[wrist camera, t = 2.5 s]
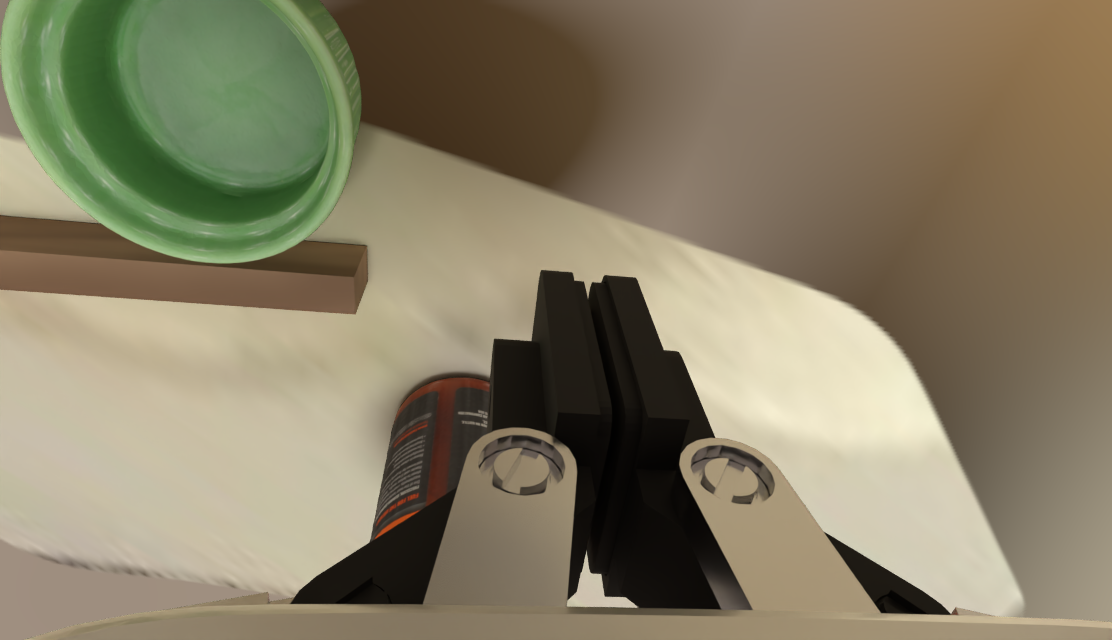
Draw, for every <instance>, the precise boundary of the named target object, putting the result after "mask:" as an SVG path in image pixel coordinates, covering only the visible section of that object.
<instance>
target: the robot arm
mask: <svg viewBox="0 0 1112 640" xmlns="http://www.w3.org/2000/svg"><path fill="white" fill-rule="evenodd" d="M586 550H587V556H588V563H589V569H590V572H591V573H593V574H601V575H602V581H603V588H604V595H605V597H626V598H628V599H629V600H630V601H631V602H633V603H634V604H635V605H636V606H637V608H616V607H567V600H568V599H570V598H571V597H572V596H573V595H574V594H575V593H576V592H577V588H578V583H579V578H580V573H581V572H582V569H583V564H584V559H585V554H586ZM25 640H1112V622H1105V621H1092V620H1076V619H1048V618H1020V617H998V616H992V615H988V614H983V613H979V612H974V611H970V610H965V609H961V608H956V607H955V609H954V610H953V612H952V614H950V613H949V612H948V611H947V610H946V609H945V608H944V607H943V606H942V605H941V604H940V603H939V602H937V601H936V600H934V599H933V598H932V597H930V596H929V595H928V594H926V593H925V592H923V591H922V590H920V589H918V588H917V587H915V586H913V585H912V584H910V583H908V582H907V581H905V580H903V579H902V578H900V577H898V576H897V575H895V574H893V573H892V572H890V571H888V570H887V569H885V568H883V567H882V566H880V565H878V564H877V563H875V562H873V561H872V560H870V559H868V558H867V557H865V556H863V555H862V554H860V553H858V552H857V551H855V550H853V549H852V548H850V547H848V546H847V545H845V544H843V543H842V542H840V541H838V540H837V539H835V538H833V537H832V536H830V535H828V534H827V533H825V532H823V530H822V529H821V528H820V526H819V525H818V523H817V522H816V520H815V519H814V518H813V516H812V515H811V513H810V512H809V511H808V509H807V508H806V506H805V505H804V503H803V502H802V501H801V499H800V498H799V496H798V495H797V494H796V492H795V491H794V489H793V488H792V487H791V485H790V484H789V482H788V481H787V479H786V478H785V477H784V475H783V474H782V472H781V471H780V470H779V469H778V467H777V466H776V465H775V464H774V463H773V462H772V461H771V460H770V459H769V458H768V457H766V456H765V455H763V454H762V453H761V452H759V451H758V450H756V449H754V448H752V447H750V446H747V445H745V444H743V443H740V442H737V441H733V440H729V439H722V438H715V436H714V433H713V431H712V429H711V426H710V424H709V421H708V419H707V417H706V414H705V412H704V409H703V407H702V404H701V402H700V400H699V397H698V395H697V392H696V390H695V388H694V385H693V383H692V380H691V378H690V375H689V373H688V371H687V368H686V366H685V363H684V361H683V359H682V357H681V355H680V353H679V352H677V351H667V350H663V347H662V344H661V342H660V339H659V337H658V334H657V331H656V329H655V326H654V323H653V321H652V318H651V315H650V313H649V310H648V307H647V305H646V302H645V299H644V297H643V294H642V292H641V289H640V286H639V284H638V281H637V279H636V278H633V277H620V276H608V275H605V276H604V277H603V280H602V283H595V282H592V284H591V287H590V292H589V298H588V297H587V293H586V289H585V284H584V282H582V281H574V277H573V273H571V272H559V271H547V270H541V272H540V277H539V285H538V293H537V301H536V309H535V317H534V325H533V334H532V341H520V340H506V339H494V343H493V352H492V363H491V374H490V386H489V400H488V417H487V434H486V435H484V436H482V437H481V438H480V439H479V440H478V441H476V442H475V443H474V444H473V445H472V447H471V449H470V451H469V453H468V454H467V457H466V461H465V464H464V467H463V471H462V474H461V477H460V481H459V484H458V487H456V488H455V489H453V490H451V491H450V492H448V493H447V494H445V495H444V496H442V497H440V498H439V499H437V500H436V501H434V502H433V503H431V504H429V505H428V506H426V507H425V508H423V509H422V510H420V511H418V512H417V513H415V514H414V515H412V516H411V517H409V518H407V519H406V520H404V521H403V522H401V523H400V524H398V525H396V526H395V527H393V528H392V529H390V530H389V531H387V532H385V533H384V534H382V535H381V536H379V537H378V538H376V539H374V540H373V541H371V542H370V543H368V544H367V545H365V546H363V547H362V548H360V549H359V550H357V551H356V552H354V553H352V554H351V555H349V556H348V557H346V558H345V559H343V560H341V561H340V562H338V563H337V564H335V565H334V566H332V567H330V568H329V569H327V570H326V571H324V572H323V573H321V574H319V575H318V576H316V577H315V578H314V579H313V580H311V581H310V582H309V583H308V584H307V585H305V586H304V587H303V588H302V589H301V590H300V591H299V592H298V593H297V595H296V596H295V597H293V598H288V599H282V600H277V601H271V602H269V595H268V592H266V593H260V594H254V595H248V596H242V597H237V598H231V599H225V600H219V601H213V602H207V603H202V604H195V605H190V606H184V607H178V608H172V609H166V610H160V611H151V612H141V613H135V614H130V615H125V616H119V617H114V618H109V619H103V620H98V621H93V622H87V623H82V624H77V625H73V626H69V627H66V628H62V629H59V630H55V631H52V632H48V633H45V634H42V635H38V636H35V637H31V638H28V639H25Z"/></svg>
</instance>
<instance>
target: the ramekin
mask: <svg viewBox="0 0 1112 640" xmlns="http://www.w3.org/2000/svg"><path fill="white" fill-rule="evenodd" d="M0 62H1V72H2V80H3V85H4V89H5V93H6V96H7V99H8V102H9V106H10V108H11V111H12V115H13V117H14V119H15V121H16V123H17V126H18V128H19V130H20V132H21V134H22V136H23V138H24V139H25V141H26V143H27V145H28V147H29V148H30V150H31V152H32V153H33V155H34V157H35V158H36V159H37V161H38V162H39V163H40V165H41V166H42V168H43V169H44V170H45V172H46V173H47V174H48V175H49V177H50V178H51V179H52V180H53V181H54V183H55V184H56V185H57V186H58V187H59V188H60V189H61V190H62V191H63V192H64V193H65V194H66V195H67V196H68V197H69V198H70V199H71V200H73V201H74V202H75V203H76V204H77V205H78V206H79V207H80V208H82V209H83V210H84V211H85V212H87V213H88V214H89V215H90V216H92V217H93V218H94V219H95V220H97V221H98V222H100V223H101V224H103V225H104V226H106V227H107V228H109V229H110V230H112V231H114V232H115V233H117V234H119V235H121V236H122V237H124V238H126V239H128V240H130V241H132V242H135V243H137V244H139V245H141V246H144V247H146V248H149V249H151V250H154V251H157V252H160V253H163V254H166V255H169V256H173V257H177V258H181V259H185V260H191V261H197V262H206V263H241V262H249V261H254V260H259V259H263V258H267V257H270V256H273V255H276V254H279V253H281V252H284V251H286V250H287V249H289V248H291V247H293V246H295V245H297V244H298V243H300V242H301V241H303V240H304V239H306V238H307V237H308V236H310V235H311V234H312V233H313V232H314V231H315V230H317V228H318V227H319V226H320V225H321V224H322V223H323V222H324V221H325V219H326V218H327V217H328V216H329V215H330V213H331V212H332V210H333V209H334V207H335V205H336V203H337V202H338V200H339V198H340V196H341V194H342V192H343V189H344V187H345V184H346V181H347V178H348V175H349V171H350V168H351V163H352V158H353V150H354V144H355V140H356V137H357V134H358V130H359V123H360V117H361V89H360V80H359V76H358V72H357V69H356V66H355V61H354V58H353V55H352V52H351V50H350V47H349V45H348V43H347V40H346V39H345V37H344V35H343V33H342V32H341V30H340V28H339V26H338V24H337V23H336V21H335V20H334V18H333V17H332V16H331V14H330V13H329V12H328V11H327V9H326V8H325V7H324V5H323V4H322V3H321V2H320V1H319V0H9V3H8V6H7V10H6V13H5V16H4V20H3V25H2V31H1V40H0Z"/></svg>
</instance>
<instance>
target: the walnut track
mask: <svg viewBox="0 0 1112 640" xmlns="http://www.w3.org/2000/svg"><path fill="white" fill-rule="evenodd" d="M367 282H368V270H367V246H361V245H349V244H337V243H324V242H312V241H301V242H300V243H298V244H297V245H295V246H293V247H291V248H289V249H287V250H286V251H284V252H281V253H279V254H276V255H273V256H270V257H267V258H263V259H259V260H254V261H249V262H241V263H206V262H197V261H191V260H185V259H181V258H177V257H173V256H169V255H166V254H163V253H160V252H157V251H154V250H151V249H149V248H146V247H144V246H141V245H139V244H137V243H135V242H132V241H130V240H128V239H126V238H124V237H122V236H121V235H119V234H117V233H115V232H114V231H112V230H110V229H109V228H107V227H106V226H104V225H103V224H94V223H82V222H69V221H57V220H45V219H33V218H21V217H9V216H0V289H1V290H15V291H29V292H44V293H58V294H72V295H86V296H101V297H115V298H129V299H144V300H158V301H172V302H186V303H201V304H215V305H229V306H243V307H258V308H272V309H286V310H300V311H315V312H329V313H343V314H356V312H357V309H358V306H359V303H360V301H361V298H362V295H363V293H364V290H365V287H366V284H367Z"/></svg>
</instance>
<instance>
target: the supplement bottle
mask: <svg viewBox="0 0 1112 640" xmlns="http://www.w3.org/2000/svg"><path fill="white" fill-rule="evenodd" d="M489 386H490V383H489V382H487V381H483V380H480V379H474V378H460V377H459V378H447V379H442V380H438V381H434V382H431V383H429V384H427V385H425V386H423V387H421V388H419V389H418V390H416V391H415V392H414V393H413V394H411V395H410V396H409V397H408V398H407V399H406V400H405V401H404V403H403V404H402V405H401V407H400V409H399V410H398V412H397V415H396V418H395V421H394V425H393V428H392V432H391V438H390V444H389V449H388V453H387V459H386V464H385V469H384V474H383V480H382V484H381V489H380V495H379V499H378V504H377V510H376V515H375V521H374V524H373V531H372V536H371V539H370V542H371V541H373V540H374V539H376V538H378V537H379V536H381V535H382V534H384V533H385V532H387V531H389V530H390V529H392V528H393V527H395V526H396V525H398V524H400V523H401V522H403V521H404V520H406V519H407V518H409V517H411V516H412V515H414V514H415V513H417V512H418V511H420V510H422V509H423V508H425V507H426V506H428V505H429V504H431V503H433V502H434V501H436V500H437V499H439V498H440V497H442V496H444V495H445V494H447V493H448V492H450V491H451V490H453V489H455V488H456V487H458V484H459V481H460V477H461V474H462V471H463V467H464V464H465V461H466V457H467V454H468V453H469V451H470V449H471V447H472V445H473V444H474V443H475V442H476V441H478V440H479V439H480V438H481V437H482V436H484V435H486V434H487V417H488V400H489Z"/></svg>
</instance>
